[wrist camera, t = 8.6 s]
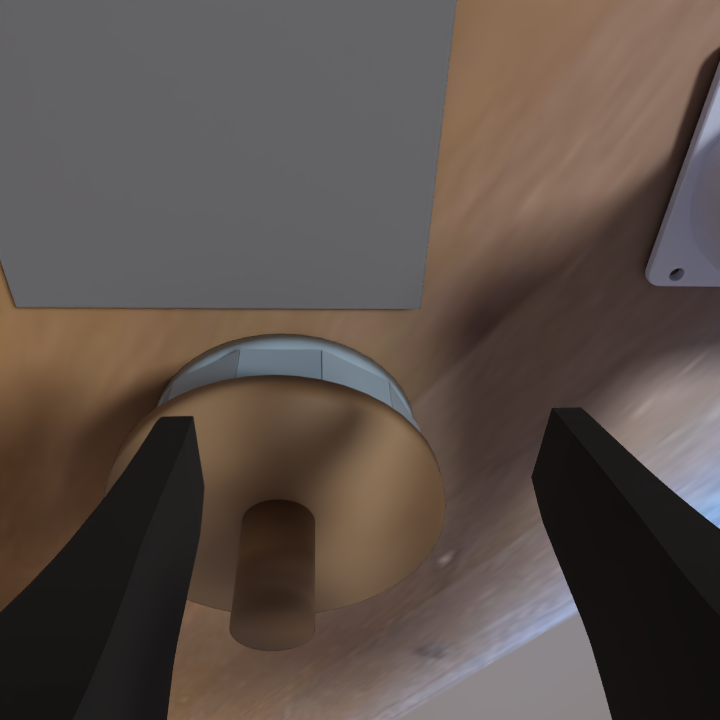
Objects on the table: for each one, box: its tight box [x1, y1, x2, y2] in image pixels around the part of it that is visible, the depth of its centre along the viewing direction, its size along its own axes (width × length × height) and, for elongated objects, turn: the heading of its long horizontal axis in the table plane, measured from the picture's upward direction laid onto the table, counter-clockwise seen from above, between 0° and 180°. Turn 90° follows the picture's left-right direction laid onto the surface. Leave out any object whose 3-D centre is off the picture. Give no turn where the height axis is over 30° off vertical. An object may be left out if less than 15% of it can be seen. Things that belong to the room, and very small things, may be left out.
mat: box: [0, 0, 457, 309], centre depth 18 cm, size 14×14×1 cm
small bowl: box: [156, 334, 421, 433], centre depth 25 cm, size 11×11×4 cm
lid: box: [104, 375, 446, 651], centre depth 21 cm, size 12×12×5 cm
